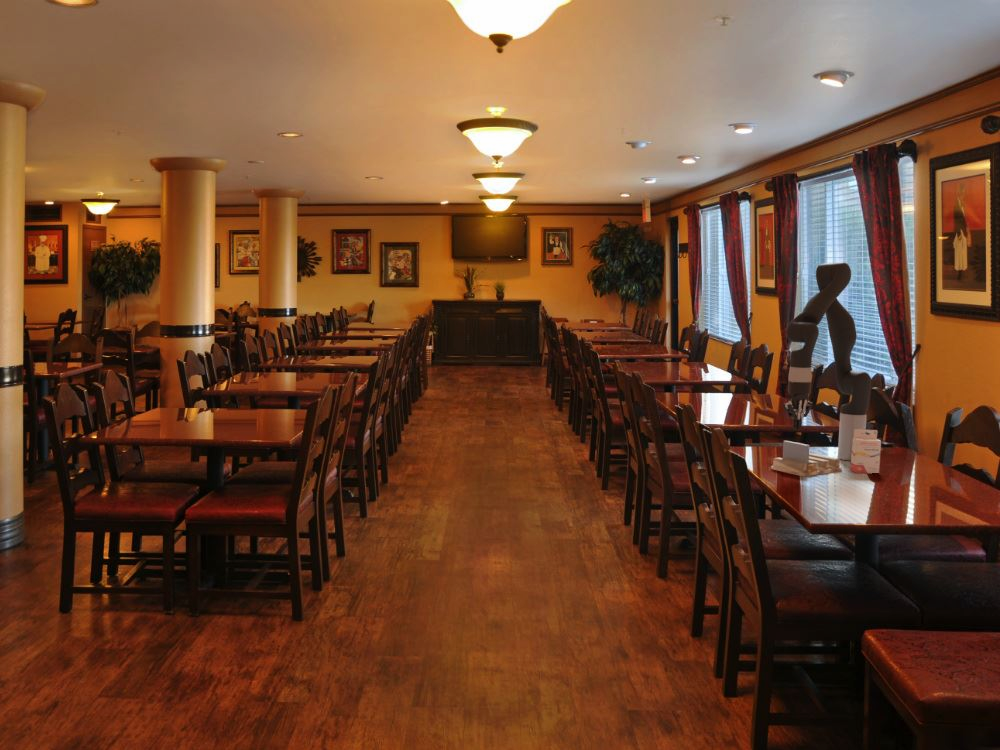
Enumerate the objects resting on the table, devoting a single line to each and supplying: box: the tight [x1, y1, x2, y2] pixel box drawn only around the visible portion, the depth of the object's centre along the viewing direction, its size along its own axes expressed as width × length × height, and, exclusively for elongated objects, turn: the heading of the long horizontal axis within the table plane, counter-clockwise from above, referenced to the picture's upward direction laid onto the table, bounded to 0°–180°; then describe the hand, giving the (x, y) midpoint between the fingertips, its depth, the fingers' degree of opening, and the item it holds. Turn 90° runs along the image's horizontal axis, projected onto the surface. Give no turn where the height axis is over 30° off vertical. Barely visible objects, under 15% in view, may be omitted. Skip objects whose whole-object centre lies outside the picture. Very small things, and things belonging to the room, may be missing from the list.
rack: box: [770, 453, 843, 477], centre depth 324 cm, size 20×14×4 cm
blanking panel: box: [782, 440, 810, 471], centre depth 320 cm, size 2×10×9 cm, turn 32°
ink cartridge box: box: [850, 429, 882, 474], centre depth 321 cm, size 9×5×15 cm, turn 84°
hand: (797, 429), depth 319 cm, fingers closed
